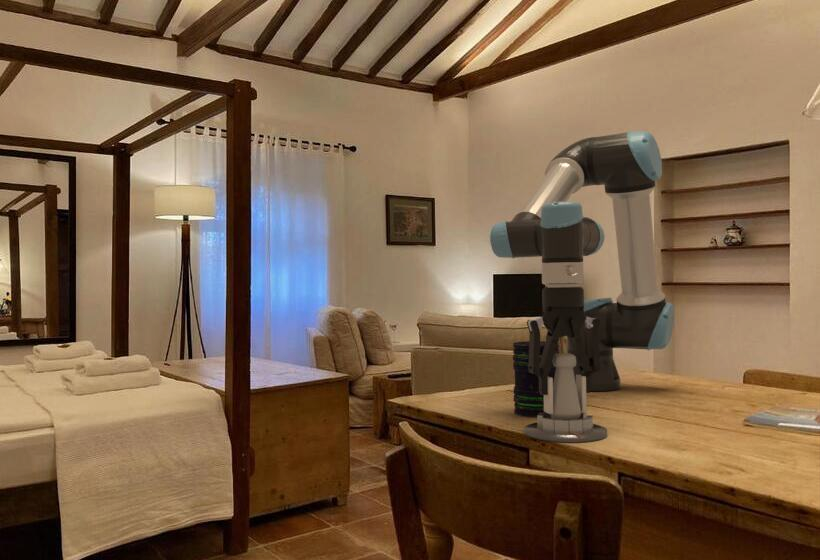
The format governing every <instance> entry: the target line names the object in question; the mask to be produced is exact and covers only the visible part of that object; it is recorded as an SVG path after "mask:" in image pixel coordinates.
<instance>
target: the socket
mask: <svg viewBox="0 0 820 560" xmlns="http://www.w3.org/2000/svg"><path fill="white" fill-rule="evenodd" d="M587 413H588V412H581V415H580V418H579V419H576V420H560V419H552V418H551V416H550V414H549V413H547V412H542V413H539V414H538V415H537V418H536V419H537V422H533V423H530V424H526V425H525V426H524V428H523V433H524V435H525V436H526V437H528V438H531V439H533V440H534V439H535V440H538V441H544V442H551V443H560V444H561V443H562V444H565V443H566V444H567V443H568V444H577V443H578V444H580V443H592V442H597V441H601V440H604V439H606V438H608V428H606V427H604V426H602V425H598V424H595V423H594V415H590V414H589V415H587Z"/></svg>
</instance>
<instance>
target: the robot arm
mask: <svg viewBox="0 0 820 560" xmlns="http://www.w3.org/2000/svg"><path fill="white" fill-rule="evenodd" d="M659 148H660V147H659V144H658V143H657V140H656V138H655V137H654V135H653V134H652V133H650V132H648V131H645V130H644V131H641V130H640V131H627V132H621V133H613V134H608V135H601V136H592V137H585V138H583V139H581V140H578V141H575V142H573V143H572V144H570V145H568V146H567V147H565V148H564V149H562V150H561V151H560V152H559V153H557V154H556V155H555V156H554V158H552V160H550V162H549V163H548V164H547V166H546V168H545V169H544V171H545V172H544V177H543V178H542V179H541V180H540V182H539V184H538V185H537V186H536V187H535V189H534V190H533V191H532V193H531V194H530V195H529V197H528V198H527V199H526V201H525V202H524V203H523V205H522V206H521V207H520V209H519V210H518V211H517V213H516V214H515V215H514V217H513V218H511V220H510V221H508V220H507V221H506V220H504V221H502V222H497V223H494V225H493V226H492V227H491V230H490V234H489V235H490V236H489V241H490V242H489V243H490V246H491V250H492V252H493V255H495V257H498V258H510V259H516V258H534V257H536V258H537V257H538V258H539V257H541V284H543V285H545V287H543V289H541V290H542V291H541V293H542V294H541V295H542V296H541V298H542V299H541V301H542V302H541V303H542V312H541V315H540V316H539V317H537V318H535V319H528V320H527V321H526V325H527V329H528V332H529V336H528V337H529V339H528V341H529V366H528V370H529V372H530V373H532V374H535V375H537V376H538V377H539V393H540V394H542V395H544V411H545V412H547V413H549V414H553V378H551V377H548V375H549V371H550V368H551V364H552V360H553V356H554V353H555V349H556V345H557V343H559V341H560V338H563V337H566V350H567V351H566V353H569V354H573V355H575V356H576V366H575V367H573V371H574V377H575V383H576V388H577V392H578V397H579V402H580V407H581V412H584V413H588V412H587V394H590V392H608V391H615V390H616V391H617V390H619V389H621V388H622V386H621V377H620V375H619V372H618V368H617V366H616V363H615V360H614V349H632V350H646V351H651V350H664V349H666V348H667V347H668V346H669V344H670V342H671V340H672V339H671V338H672V335H673V332H674V331H673V330H674V329H673V328H674V323H675V321H674V319H675V308H674V304H673V303H671V302H666V295H665V293H664V292H662V291H661V290H660V289H659V288H658V287H659V286H658V277H657V265H656V253H655V251H656V250H655V243H654V241H655V240H654V231H653V230H654V229H653V221H652V209H651V208H652V206H651V197H650V194H651V193H652V192H653V191H654V190H655V188H656V181H658V180H660V179H661V178H662V175H663V163H662V157H661V152H660V149H659ZM602 185H603V186H604V193H605V194H606V195H607V196H608V197H609V198H611V199H612V208H613V218H614V226H615V236H616V237H615V239H616V248H617V257H618V267H619V275H620V276H619V277H620V285H621V292H620V294H619V295H618V296H617V297H616V299H615V301H616V302H614V301H613V299H612V297H603V298H595V299H587V300H585V291H584V290H585V288H584V287H583V286H582V287H581V285H582V284H583V283H584V257H588V256H589V257H590V256H592V255H594V254H596V253H598V252H599V250H600V249H601V248H602V247H603V244H604V242H605V231H604V229H603V227H602V226H601V224H599V222H597V221H596V220H594V219H592V218H589V217H587V216H584V213H583V206H582V204H581V203H580V202H577V201H568V200H569V199H570V198H571V196H572V195H573V194H576V193H577V192H579V191H580V190H581V188H585V187H590V186H602ZM542 325H544V327H545V329H546V331H547V332H546V335H545V342H546V343H545V347H544V350H543V354H542V358H541V362H540V341H541V330H542V328H543V327H542ZM539 362H540V365H539Z"/></svg>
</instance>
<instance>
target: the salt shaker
mask: <svg viewBox="0 0 820 560" xmlns="http://www.w3.org/2000/svg"><path fill="white" fill-rule="evenodd" d="M552 361H553V366H555V367H556V371H555V377H554V383H553V414H550V416H551V418H552V419H560V420H576V419H579V418H580V415H581V407H580V402H579V397H578V392H577V388H576V383H575V377H574V371H573V367H575V366H576V356H575V355H573V354H569V353H567V352H565V353H561V352H559V354H556V355H554V356H553V360H552Z"/></svg>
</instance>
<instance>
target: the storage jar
mask: <svg viewBox="0 0 820 560" xmlns="http://www.w3.org/2000/svg"><path fill="white" fill-rule="evenodd" d="M545 343H546V340H545V341H541V340H540V362H541V358H542V354H543V350H544V347H545ZM559 347H560V343H559V342H557V345H556V349H555V353H554V355H556V354H560V350H559ZM512 348H513V350H512V351H513V352H512V361H513V362H512V363H513V365H512V366H513V370H514V387H513V402H514V404H513V405H514V406H513V407H514V410H513V412H514V415H516V414H517V415H516V416H519V415H520V416H519V417H523V416H525V417H524V418H533V417H537V415H538V414H539V413H542V412H545V411H544V395H542V394H540V393H539V377H538V376H537V375H535V374H532V373H530V372H529V370H528V366H529V340H528V341H516V342H513V343H512ZM540 362H539V365H540ZM555 371H556V367H555V366H553V361H552V364H551V368H550V371H549V375H548V377H551V378H553V383H554V377H555Z"/></svg>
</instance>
